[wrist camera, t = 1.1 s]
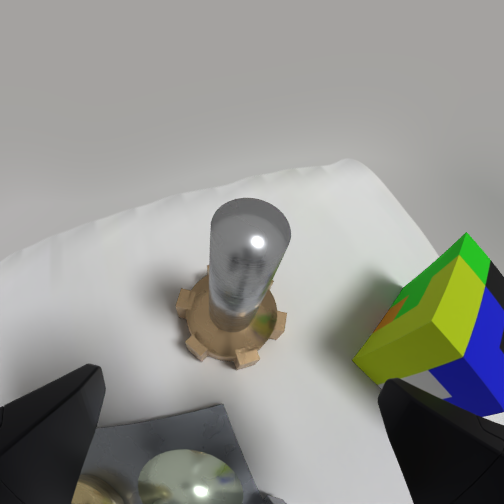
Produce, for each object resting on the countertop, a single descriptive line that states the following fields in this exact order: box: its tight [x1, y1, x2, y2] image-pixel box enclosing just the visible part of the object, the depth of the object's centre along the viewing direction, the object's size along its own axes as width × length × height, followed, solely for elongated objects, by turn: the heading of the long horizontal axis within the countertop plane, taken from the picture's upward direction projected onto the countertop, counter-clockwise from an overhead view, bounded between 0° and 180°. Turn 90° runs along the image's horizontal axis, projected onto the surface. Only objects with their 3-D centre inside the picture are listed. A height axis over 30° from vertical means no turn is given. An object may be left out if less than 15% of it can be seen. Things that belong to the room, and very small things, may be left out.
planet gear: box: [176, 198, 291, 370], centre depth 16 cm, size 8×7×12 cm
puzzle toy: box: [352, 232, 504, 417], centre depth 17 cm, size 10×10×10 cm
